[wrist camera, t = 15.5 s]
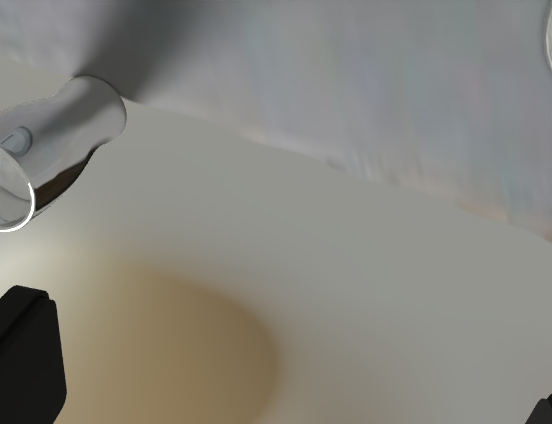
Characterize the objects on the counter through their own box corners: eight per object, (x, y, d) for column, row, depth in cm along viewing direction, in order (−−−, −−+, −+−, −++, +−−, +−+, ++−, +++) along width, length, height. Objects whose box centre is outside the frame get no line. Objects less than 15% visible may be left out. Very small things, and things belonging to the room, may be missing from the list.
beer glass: (40, 105, 45) (-89, 180, 32) (84, 52, 42) (-38, 111, 29) (101, 161, 47) (3, 253, 34) (147, 114, 44) (59, 195, 31)
